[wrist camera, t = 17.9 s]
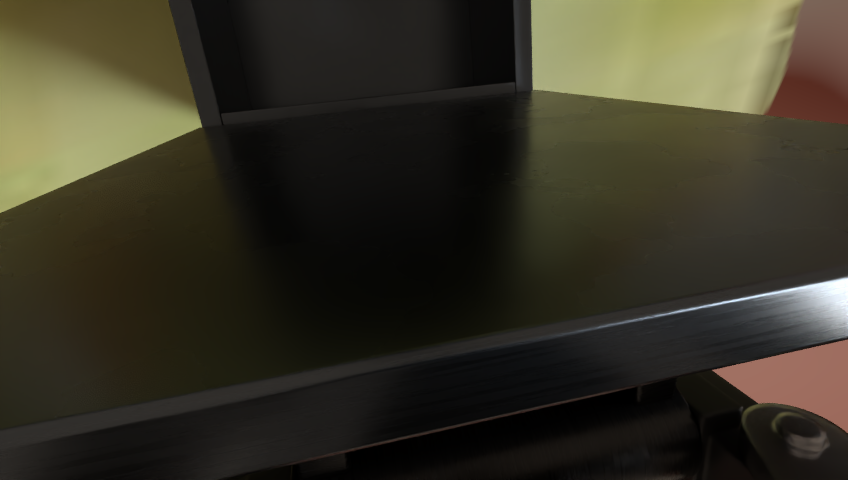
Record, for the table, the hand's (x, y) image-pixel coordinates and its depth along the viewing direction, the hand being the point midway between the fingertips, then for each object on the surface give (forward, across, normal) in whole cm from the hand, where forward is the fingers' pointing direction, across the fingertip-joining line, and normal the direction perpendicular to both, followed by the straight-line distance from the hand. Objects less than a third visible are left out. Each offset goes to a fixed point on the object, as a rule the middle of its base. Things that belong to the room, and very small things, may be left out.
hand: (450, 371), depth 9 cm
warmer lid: (+3, 0, -5) cm, 6 cm away
